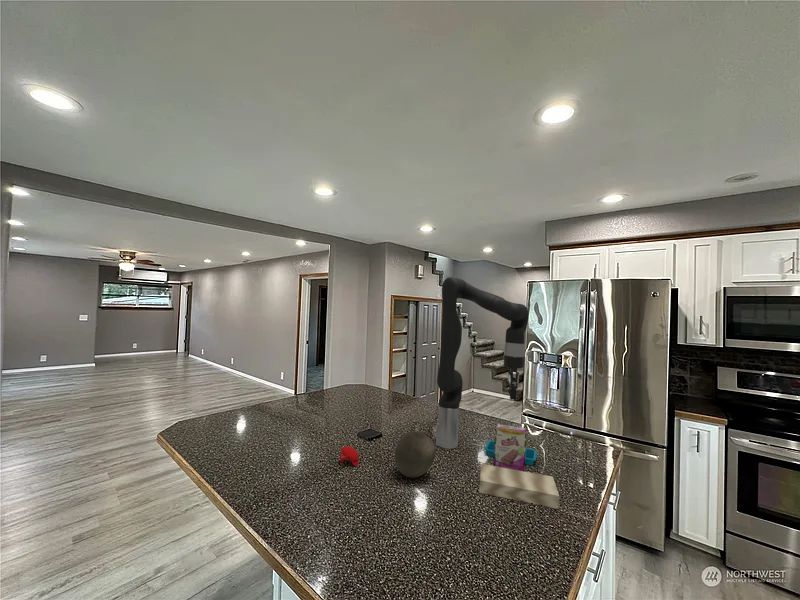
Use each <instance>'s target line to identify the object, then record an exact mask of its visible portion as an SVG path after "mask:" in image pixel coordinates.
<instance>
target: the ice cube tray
mask: <svg viewBox="0 0 800 600" xmlns="http://www.w3.org/2000/svg"><path fill="white" fill-rule="evenodd" d="M484 450H485V451H486V456H488V455H489V456H488V457H492V458H494V454H495V440H488V441H487V442H486V444H485V447H484ZM537 452H538V451H537V450H535V449H533V448H530V447H529V448H528V447H526V451H525V465H526V464H527V465H526V466H534V462H535V461H536V460H537V454H538V453H537Z"/></svg>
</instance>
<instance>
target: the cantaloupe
mask: <svg viewBox="0 0 800 600" xmlns="http://www.w3.org/2000/svg"><path fill="white" fill-rule="evenodd" d="M436 453H437V452H436V446H435V444H434V442H433V440H432V439H431V438H430V437H429V436H428V435H427V434H425V433H423V432H421V431H417V430H415V431H409V432H407V433H405V434H404V435H403V436H402V437H401V438H400V439H399V440H398V442H397V445H396V447H395V450H394V461H395V465H396V468H397V470H398V471H399V472H400V473H401V474H402V475H403V476H405V477H407V478H413V479H414V478H418V477H421V476H423V475H424V474H425V473H427V472H428V471H429V470H430V469H431V468H432V465H433V464H434V461H435V458H436Z"/></svg>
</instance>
